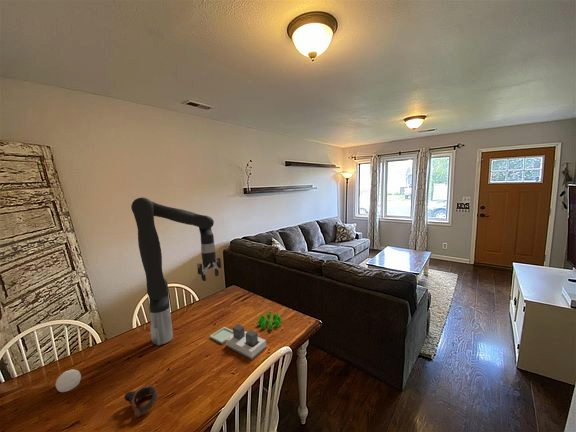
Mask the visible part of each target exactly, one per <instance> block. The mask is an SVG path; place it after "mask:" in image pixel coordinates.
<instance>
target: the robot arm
mask: <svg viewBox="0 0 576 432" xmlns="http://www.w3.org/2000/svg"><path fill="white" fill-rule="evenodd" d="M131 211H132V213H133V216H134V220H135V223H136V228H137V242H138V244H137V245H138V250H139V255H140V258H141V263H142V266H143V270H144V272H145V274H144V275H145V278H146V279H145V280H146V293H147V296H148V300H149V304H148V305H149V308H148V309H149V313H150V324H149V329H150V336H151V343H152V344H154V345H156V346H161V345H165V344H167V343H169V342H170V341H171V340H172V339H173V338H174V332H173V324H172V314H171V313H172V312H171V304H170V295H169V292H170V291H169V284H168V281H167V279H165V278H164V274H163V255H162V248H161V243H160V237H159V234H158V232H157V229H156V228H157V227H156V225H155V217H158V218H164V219H166V220H169V221H173V222H176V223H179V224H184V225H189V226H195V227H198V231H199V234H200V253H201V261H202V262H201V263H197V265H196V267H197V274H198V275H201V280H202V281H203V282H206V281H207V278H206V273H207V272H208V270H210V269H214V276H215V277H219V273H220V272H219V269H221V268H222V263H221V258H220V257H217V256H216V254H217V253H216V245H215V236H214V234H213V231H212V227H213V226H214V223H215V221H214V219H213V217H212V216H208V215H203V214H199V213H196V212H193V211H189V210H184V209H181V208H175V207H171V206H166V205H163V204H159V203H157V202H154V201H152V200H150V199H149V198H147V197H138V198H136V199H134V200H133V201H132V202H131Z"/></svg>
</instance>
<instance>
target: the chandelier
mask: <svg viewBox="0 0 576 432" xmlns="http://www.w3.org/2000/svg"><path fill="white" fill-rule="evenodd" d="M271 315H272V312H270V311H269V312H267V313H266V315H263V314H260V315H259V318H258V319H257V320H256V322H257V323H256V325H257V326H259V327H260V329H261V330H265V329H267V328H266V327H267V324H268V330H269V331H273V329H274V327H275V328H277V329H278V328H280V327H281V323H282V322H283V317H282V316H281V315H278V313H277V312H274V314H273V315H272V318H271ZM265 316H266V317H265ZM273 325H274V326H273Z"/></svg>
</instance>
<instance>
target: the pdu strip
mask: <svg viewBox="0 0 576 432" xmlns="http://www.w3.org/2000/svg"><path fill="white" fill-rule="evenodd" d="M232 330H233V334H232V335H231V336H229V337H228V338H226V342H225V347H227V348H229V349H231V350H232V351H234V352H236V353H238V354H240V355H242V356H243V357H245V358H247V359H250V360H251V361H252V360H254V359H255V358H256V357H258V355H260V354H261V353H262V352H263V351H265V350H266V349H267V340H266V339H264V338H262V337H259V336H258V344H257V345H256V346H254V347H251V346H249V345H247V344H246V334H245V333H247V332H248V331H245V327H244V326H243V325H240V324H236V325H235V326H233V327H232Z"/></svg>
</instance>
